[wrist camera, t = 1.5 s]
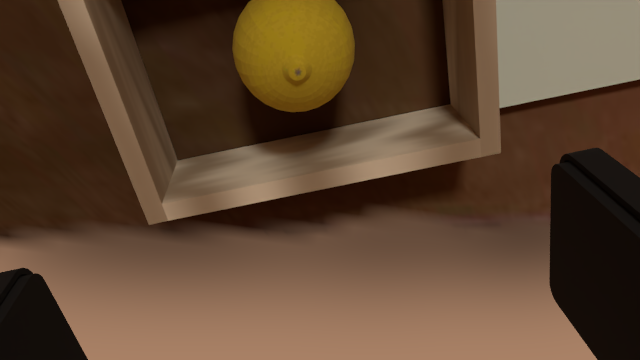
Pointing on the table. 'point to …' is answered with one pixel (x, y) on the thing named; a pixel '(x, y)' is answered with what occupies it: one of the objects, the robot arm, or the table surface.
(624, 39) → the board
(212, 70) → the table surface
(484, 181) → the table surface
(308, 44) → the lemon
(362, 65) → the table surface
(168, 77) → the table surface
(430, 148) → the brown wooden tray
